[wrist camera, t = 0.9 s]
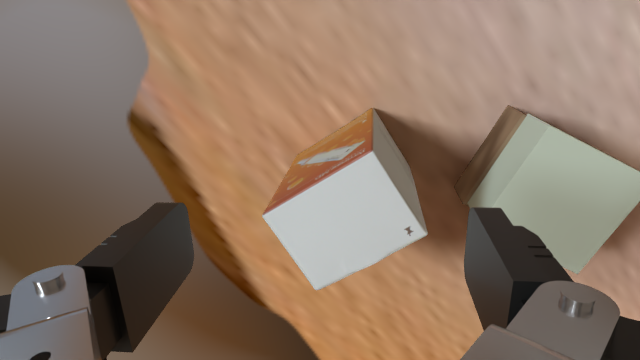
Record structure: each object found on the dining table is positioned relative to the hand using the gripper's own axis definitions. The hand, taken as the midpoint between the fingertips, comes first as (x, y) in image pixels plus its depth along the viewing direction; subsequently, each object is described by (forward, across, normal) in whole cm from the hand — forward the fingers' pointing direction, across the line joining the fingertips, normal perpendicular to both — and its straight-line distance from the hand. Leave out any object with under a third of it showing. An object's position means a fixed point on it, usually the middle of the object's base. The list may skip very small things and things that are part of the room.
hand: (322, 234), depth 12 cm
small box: (+25, 0, +6) cm, 26 cm away
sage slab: (+21, -14, +6) cm, 27 cm away
